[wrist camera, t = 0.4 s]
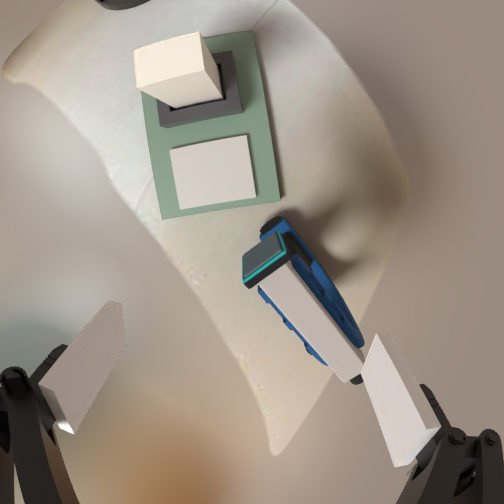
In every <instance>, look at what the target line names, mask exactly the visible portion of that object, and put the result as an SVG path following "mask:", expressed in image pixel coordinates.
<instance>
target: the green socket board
mask: <svg viewBox="0 0 504 504" xmlns="http://www.w3.org/2000/svg"><path fill="white" fill-rule="evenodd" d="M203 40H204V42H205V44H206V46H207V48H208V49H209V51H210V53H211V55H212V57H213V59H214V61H215V63H216V65H217V67H218V69H219V71H220V73H221V79H222V85H223V91H224V98H225V100H222V101H217V102H212V103H207V104H202V105H197V106H193V107H188V108H184V109H180V110H177V109H175V108H174V107H172V106H170V105H168V104H166V103H164V102H162V101H161V100H159V99H157V98H155V97H153V96H151V95H149V94H147V93H145V92H143V91H141V94H142V102H143V110H144V118H145V125H146V132H147V139H148V146H149V152H150V158H151V164H152V170H153V175H154V181H155V186H156V192H157V197H158V202H159V207H160V212H161V216H162V220H164V219H170V218H175V217H181V216H187V215H193V214H199V213H205V212H211V211H217V210H224V209H230V208H237V207H243V206H250V205H257V204H264V203H271V202H279V201H280V194H279V187H278V180H277V173H276V166H275V159H274V153H273V146H272V139H271V133H270V127H269V121H268V114H267V108H266V102H265V96H264V91H263V85H262V79H261V74H260V68H259V63H258V57H257V52H256V47H255V41H254V36H253V31H252V30H251V31H244V32H237V33H231V34H225V35H220V36H214V37H209V38H205V39H203Z"/></svg>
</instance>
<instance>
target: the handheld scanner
mask: <svg viewBox="0 0 504 504" xmlns="http://www.w3.org/2000/svg"><path fill="white" fill-rule="evenodd" d="M260 232H261V234H260V240H261V242H260V243H258V244H257V245H256V246H254V247H253V248H252V249H250V250H249V251H248V252H246V253H245V254H244V255H243V257H242V280H243V283H244V285H245V286H246V287H247V288H248V289H250V288H252V287H253V286H255V285H256V284H258V293H259V294H260V295H261V297H262V298H263V299H264V300H265V301H266V303H270V304H271V305H272V307H273V308H274V309H275V310H276V311H277V312H278V313H279V315H280V316H281V317H282V318H283V322H284V323H285V325H286V326H287V327H288V328H289V329H290V330H293V331H294V332H295V333H296V334H297V335H298V336H299V337H300V339H301V340H302V341H303V342H304V345H305V348H306V350H307V352H308V353H310V354H311V355H313V356H314V357H315V358H316V359H317V360H319V361H320V362H321V363H323V364H324V365H326V366H329V367H330V368H331V369H332V370H333V371H334V372H335V374H336V375H337V376H338V377H339V378H340V379H341V380H342V381H343V382H344V383H345V382H347V381H349V380H350V381H351V383H352V384H355V385H357V384H360V383H362V382H364V381H363V378H362V375H361V373H360V372H361V369H362V367H363V365H364V362H365V359H364V356H363V353H362V351H361V350H360V349H359V348H361V347H363V346H364V339H363V336H362V334H361V332H360V330H359V328H358V326H357V324H356V322H355V320H354V318H353V316H352V314H351V312H350V311H349V309H348V307H347V305H346V303H345V301H344V300H343V298H342V296H341V295H340V293H339V291H338V290H337V288H336V287H335V285H334V284H333V282H332V281H331V279H330V278H329V276H328V275H327V273H326V272H325V270H324V269H323V267H322V266H321V265H320V263H319V262H318V261H317V259H316V258H315V256H314V255H313V254H312V252H311V251H310V250H309V249H308V247H307V246H306V245H305V243H304V242H303V241H302V239H301V238H300V237H299V235H298V234H297V233H296V231H295V230H294V229H293V228H292V226H291V225H290V224H289V222H288V221H287V220H286V218H285V217H282V218H281V219H280V218H279V217H276V218H275V217H274V218H273V219H272V220H270V221H269V222H268V223H267V224H265V225H264V226H263V227H261V230H260Z"/></svg>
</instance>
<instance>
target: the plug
mask: <svg viewBox="0 0 504 504" xmlns="http://www.w3.org/2000/svg"><path fill="white" fill-rule="evenodd" d="M134 62H135V74H136V84H137V89H139V90H141V91H143V92H145V93H147V94H149V95H151V96H153V97H155V98H157V99H159V100H161V101H162V102H164V103H166V104H168V105H170V106H172V107H174V108H175V109H177V110H180V109H184V108H188V107H193V106H197V105H202V104H207V103H212V102H217V101H222V100H225V98H224V91H223V85H222V79H221V73H220V71H219V69H218V67H217V65H216V63H215V61H214V59H213V57H212V55H211V53H210V51H209V49H208V48H207V46H206V44H205V42H204V40H203V38H202V36H201V34H200V32H199V31H198V32H194V33H190V34H186V35H182V36H178V37H174V38H171V39H167V40H164V41H160V42H157V43H154V44H151V45H147V46H144V47H141V48H139V49H136V50H134Z"/></svg>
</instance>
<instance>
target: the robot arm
mask: <svg viewBox="0 0 504 504" xmlns="http://www.w3.org/2000/svg"><path fill="white" fill-rule="evenodd" d="M95 1H96V2H98V3H99V4H100V5H101V6H103V7H104V8H107V9H110V10H124V9H129V8H132V7H136V6H138V5H141V4H143V3H145V2H147V1H149V0H95ZM126 346H127V345H126V338H125V330H124V322H123V314H122V304H121V303H118V302H113V301H108V302H107V303H106V304H105V305H104V306H103V307H102V309H101V310H100V311H99V312H98V313H97V314H96V315H95V316H94V317H93V319H92V320H91V321H90V322H89V323H88V324H87V325H86V326H85V328H84V329H83V330H82V331H81V332H80V333H79V335H78V336H77V337H76V338H75V339H74V340H73V342H72V343H71V344H70V345H69V346H67V345H64V344H62V345H60V346H58V347H57V348H55V349H54V350H53V351H52V352H51V353H50V354H49V355H48V358H46V359H45V360H44V361H43V363H42V364H41V365H40V366H39V367H38V368H37V369H36V371H35V372H34V373H33V374H32V375H31V377H30V378H28V376H27V374H26V372H25V371H24V370H23V369H22V368H20V367H9V368H7V369H5V370H4V371H3V372H2V373H1V374H0V383H1V385H2V387H0V504H15V502H14V462H15V467H16V471H17V476H18V480H19V484H20V488H21V492H22V495H23V499H24V502H25V504H80V503H79V501H78V499H77V496H76V494H75V492H74V489H73V486H72V484H71V481H70V478H69V476H68V473H67V470H66V467H65V464H64V461H63V458H62V455H61V452H60V448H59V445H58V441H57V438H56V434H55V430H54V428H53V424H54V422H55V421H57V423H58V425H59V427H60V428H61V429H63V430H65V431H68V432H70V433H73V434H75V433H76V431H77V429H78V428H79V426H80V424H81V422H82V420H83V419H84V417H85V415H86V413H87V411H88V410H89V408H90V406H91V404H92V403H93V401H94V399H95V397H96V396H97V394H98V392H99V391H100V389H101V387H102V385H103V384H104V382H105V380H106V379H107V377H108V375H109V374H110V372H111V370H112V369H113V367H114V365H115V364H116V362H117V360H118V359H119V357H120V355H121V354H122V352H123V351H124V349H125V347H126ZM360 373H361V375H362V378H363V381H364V383H365V386H366V388H367V391H368V394H369V396H370V399H371V401H372V404H373V407H374V410H375V412H376V415H377V418H378V421H379V424H380V426H381V429H382V432H383V435H384V438H385V441H386V443H387V446H388V449H389V452H390V455H391V458H392V461H393V464H394V467H398V466H403V465H407V464H410V462H411V461H412V460H413V459H414V458H415V457H416V459H417V461H418V463H417V464H416V465H415V466H414V467H413V468H412V469H411V470H410V471H409V472H408V473H407V474H406V475H407V476H408V475H409V474H410V473H411V475H410V477H409V479H408V481H407V483H406V485H405V487H404V489H403V491H402V493H401V495H400V497H399V499H398V501H397V503H396V504H504V461H503V452H502V444H501V439H500V436H499V435H498V433H497V432H495V431H494V430H491V429H486V430H484V431H482V433H481V434H480V435H479V436H478V437H474V436H473V437H472V436H466V434H465V433H464V432H463V431H462V430H461V429H459V428H455V427H451V425H450V423H449V421H448V420H447V418H446V416H445V414H444V412H443V410H442V409H441V407H440V406H439V403H438V402H437V400H435V397H434V395H433V393H432V391H431V390H430V389H429V388H428V387H427V386H426V385H424V384H420V385H419V384H418V382H417V380H416V379H415V377H414V375H413V373H412V372H411V370H410V368H409V367H408V365H407V363H406V361H405V360H404V359H403V357H402V355H401V353H400V351H399V350H398V348H397V346H396V345H395V343H394V342H393V340H392V338H391V337H390V335H389V334H388V333H376V335H375V338H374V340H373V343H372V345H371V348H370V350H369V353H368V355H367V358H366V360H365V362H364V365H363V367H362V369H361V372H360Z"/></svg>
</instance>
